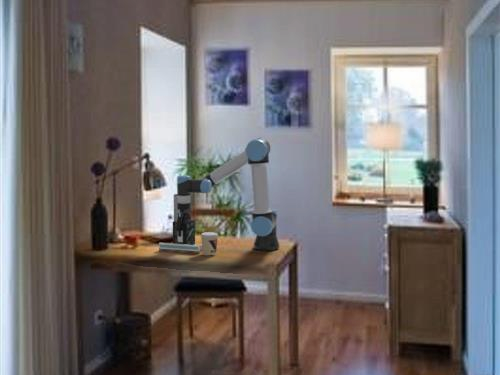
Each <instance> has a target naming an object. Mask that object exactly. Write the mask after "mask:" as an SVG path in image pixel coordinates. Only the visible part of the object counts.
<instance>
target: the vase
mask: <svg viewBox="0 0 500 375" xmlns="http://www.w3.org/2000/svg"><path fill="white" fill-rule="evenodd" d="M177 203H178V202H177V193H175V194H173V222H174V221H177V219H178V213H180V210H178V209H177ZM189 203H190V204H191V201H190V202H189ZM189 210H190V211H191V208H190V209H189Z"/></svg>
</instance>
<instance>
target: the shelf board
mask: <svg viewBox="0 0 500 375" xmlns="http://www.w3.org/2000/svg"><path fill="white" fill-rule="evenodd" d="M158 251H159V252H165V253H166V252H168V253H178V252H181V254H192V253H200V252H201V253H202V245H199V251H186V250H172V249H159V248H158ZM201 253H200V254H201Z"/></svg>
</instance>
